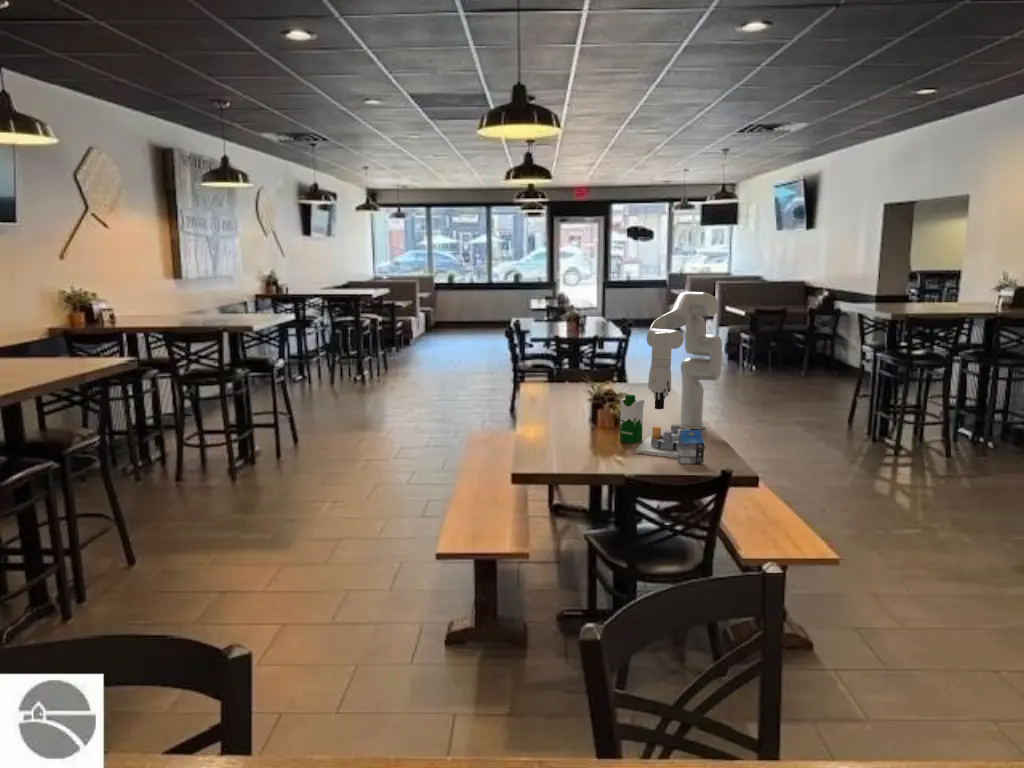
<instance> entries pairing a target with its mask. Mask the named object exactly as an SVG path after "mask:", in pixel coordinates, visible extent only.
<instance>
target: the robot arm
mask: <svg viewBox="0 0 1024 768" xmlns="http://www.w3.org/2000/svg"><path fill="white" fill-rule="evenodd" d="M719 306H720V305H719V300H718V298H717V297H716V296H714V295H712V294H711V293H708V292H704V291H683V292H680V293H679V294H678V295H677V296H676V298H675V300H674V302H673V304H672V307H671V309H670V311H669V312H666V313H665V314H663V315H661V316H659V317H658V318H656V319H655V320H654V321H653V322H652V323H651V325H650V327H649V329H648V331H647V333H646V344H647V345H648V347H651V361H650V362H651V364H650V368H649V372H648V373H649V374H648V383H647V388H648V390H649V391H651V393H653V395H654V397H653V398H654V409H655V410H664V408H665V399H666V397H669V393H670V392H671V390H672V369H671V368H672V350H675V349H679V348H680V347H682V346H683V343H685V344H684V345H685V346H684V349H685V352H686V354H687V355H691V356H703V357H709V358H700V357H687V358H684V359H683V360H682V361H681V363H680V374H681V405H680V421H679V422H677V423H676V425H678V428H679V427H680V429H683V428H684V429H699V430H704V429H706V424H705V423H704V422H703V415H704V414H703V413H704V412H703V411H704V410H703V409H704V387H703V385H702V383H701V380H702V381H710V382H712V381H713V382H714V381H717V380H719V379H720V378H721V374H722V358H723V342H722V339H721V336H718V335H716V334H709V333H707V334H706V324H707V323H706V321H705V318H704V317H714V316H715V315H717V313H718V311H719V308H720V307H719ZM681 327H685V336H684V335H683V333H682V332H681V331H680V330H677V329H678V328H681ZM684 337H685V338H684ZM684 340H685V341H684ZM703 428H704V429H703Z"/></svg>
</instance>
